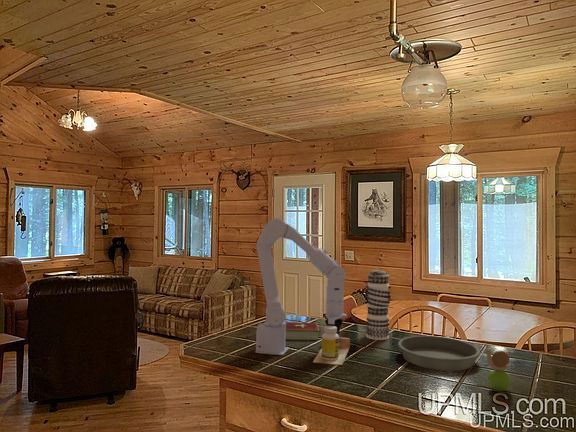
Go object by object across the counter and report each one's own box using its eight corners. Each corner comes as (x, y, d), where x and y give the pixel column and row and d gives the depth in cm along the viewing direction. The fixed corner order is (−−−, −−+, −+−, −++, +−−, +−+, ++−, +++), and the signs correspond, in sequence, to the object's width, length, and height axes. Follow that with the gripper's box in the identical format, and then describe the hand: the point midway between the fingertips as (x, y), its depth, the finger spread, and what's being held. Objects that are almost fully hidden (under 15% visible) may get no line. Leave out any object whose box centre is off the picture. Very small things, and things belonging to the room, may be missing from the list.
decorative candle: (371, 332, 170) (372, 268, 171) (393, 336, 165) (394, 270, 165) (360, 337, 163) (361, 270, 163) (384, 341, 157) (384, 272, 158)
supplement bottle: (337, 361, 134) (338, 329, 134) (320, 360, 135) (320, 328, 135) (339, 356, 139) (339, 325, 139) (322, 354, 140) (322, 324, 140)
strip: (312, 362, 133) (313, 351, 133) (324, 344, 152) (324, 335, 152) (342, 365, 131) (342, 354, 131) (349, 346, 150) (350, 337, 150)
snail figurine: (480, 386, 115) (480, 341, 115) (503, 386, 116) (503, 341, 116) (491, 395, 110) (491, 347, 110) (515, 394, 110) (515, 347, 111)
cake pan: (383, 359, 138) (383, 345, 138) (419, 344, 156) (419, 331, 156) (461, 379, 121) (461, 363, 121) (491, 360, 139) (491, 345, 139)
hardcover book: (263, 331, 171) (264, 321, 171) (317, 332, 171) (317, 322, 171) (261, 340, 159) (261, 328, 159) (319, 341, 159) (319, 329, 159)
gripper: (344, 305, 138) (343, 348, 137) (349, 297, 152) (348, 336, 151) (322, 303, 139) (321, 346, 139) (329, 296, 153) (328, 334, 153)
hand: (334, 341), depth 145 cm, fingers closed
